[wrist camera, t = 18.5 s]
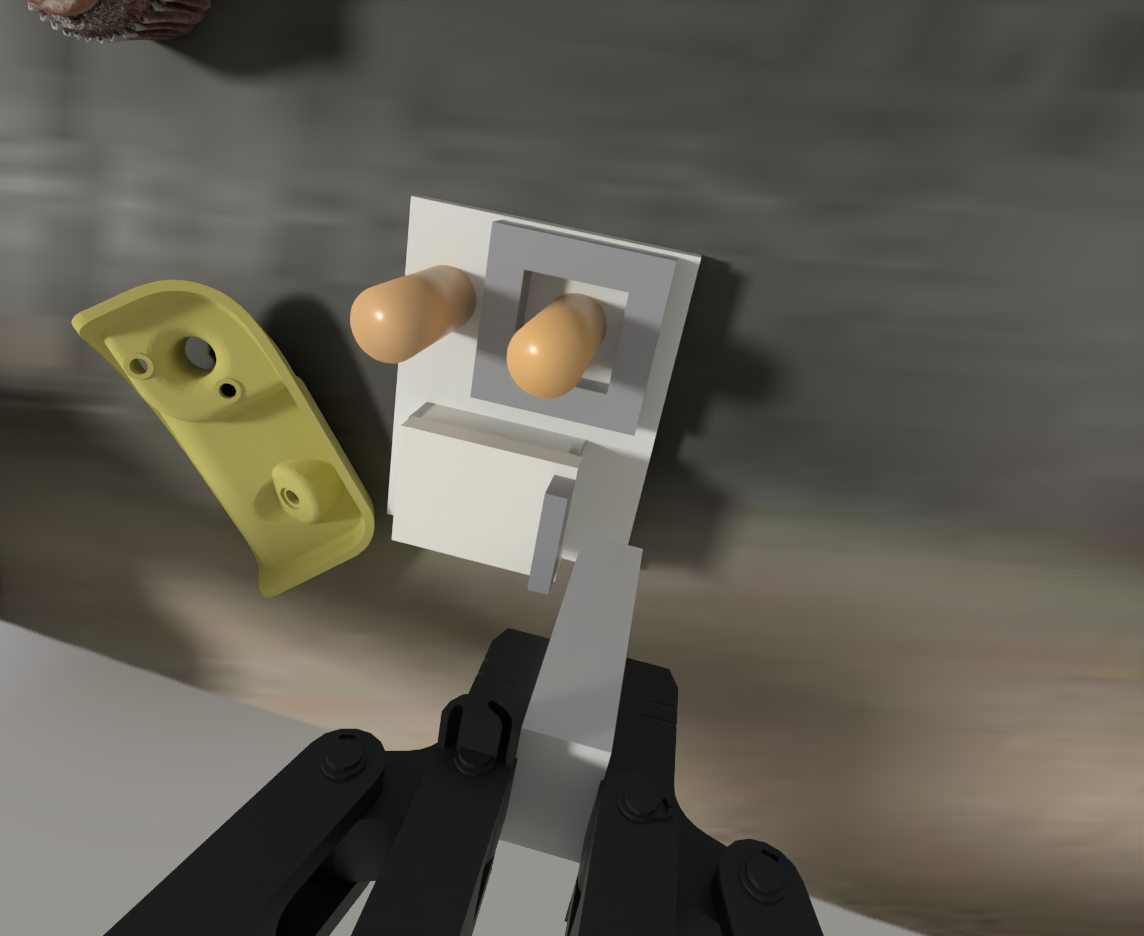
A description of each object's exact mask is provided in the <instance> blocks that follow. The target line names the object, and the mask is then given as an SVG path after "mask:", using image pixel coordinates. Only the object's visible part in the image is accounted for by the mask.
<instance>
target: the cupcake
mask: <svg viewBox="0 0 1144 936" xmlns="http://www.w3.org/2000/svg"><path fill="white" fill-rule="evenodd" d="M25 1H26V2H28V8H29V9H30V10H31V11H34V10H39V14H40V17H41V20H42V21H50V22H51V25H52V27H53V29H54V30H63V33H64V35H66V36H68V37H76V38H77V39H78V40H86V41H87V42H92V41H100V42H101V43H102V44H104V43H111V42H118V41H127V40H172V39H176V38H177V37H179V36H182V35H185V34H189V33H190V32H191V31H192V29H193V28H194V26H195V25H196V24H198V23H199V22H201V21H203V18H204V14H205V11H206V10H207V9H208V8H210V7H211V0H25Z"/></svg>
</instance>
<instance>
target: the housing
mask: <svg viewBox="0 0 1144 936" xmlns="http://www.w3.org/2000/svg"><path fill="white" fill-rule="evenodd" d="M700 261H701V255H700V254H695V253H691V252H686V251H681V250H677V249H672V248H667V247H662V246H658V245H653V244H648V243H644V242H639V241H634V240H629V239H625V238H620V237H615V236H611V235H606V234H601V233H596V232H592V231H587V230H582V229H578V228H573V227H568V226H564V225H559V224H554V223H549V222H545V221H540V220H535V219H531V218H526V217H521V216H516V215H512V214H507V213H502V212H498V211H493V210H488V209H483V208H479V207H474V206H469V205H465V204H460V203H455V202H450V201H446V200H441V199H436V198H432V197H427V196H422V195H420V196H411V206H410V219H409V232H408V245H407V258H406V271H405V276H403V277H400V278H397V279H394V280H391V281H388V282H385V283H382V284H379V285H376V286H373V287H370V288H368V289H366V290H365V291H363V292H362V293H361V294H360V295H359V296H358V297H357V298H356V300H355V302H354V303H353V306H352V309H351V315H350V323H351V329H352V332H353V335H354V337H355V339H356V341H357V343H358V344H359V346H360V347H361V348H362V349H363V350H364V351H365V352H366V353H367V354H368V355H369V356H371V357H372V358H374V359H376V360H378V361H381V362H384V363H398V375H397V389H396V402H395V415H394V428H393V441H392V454H391V467H390V480H389V493H388V506H387V514H390V515H394V504H395V492H396V479H397V467H398V455H399V442H400V430H401V425H402V424H403V423H404V422H405V421H407V420H408V419H409V418H410V417H412V416H414V417H419V418H423V419H427V420H431V421H435V422H439V423H444V424H448V425H452V426H456V427H460V428H464V429H468V430H473V431H477V432H481V433H485V434H489V435H493V436H497V437H502V438H506V439H510V440H514V441H518V442H522V443H527V444H531V445H535V446H539V447H543V448H547V449H551V450H556V451H560V452H564V453H568V454H572V455H576V456H580V457H583V458H582V463H581V468H580V473H579V478H578V482H577V487H576V492H575V497H574V501H573V506H572V511H571V516H570V521H569V525H568V530H567V535H566V540H565V545H564V549H563V554H562V558H563V559H567V560H571V561H575V562H576V559H577V555H578V552H579V549H580V546H581V543H582V540H583V537H584V534H586V535H590V536H594V537H598V538H602V539H606V540H610V541H614V542H618V543H622V544H625V545H628V543H629V539H630V535H631V531H632V527H633V523H634V519H635V515H636V512H637V508H638V504H639V500H640V496H641V492H642V488H643V484H644V480H645V476H646V472H647V468H648V465H649V461H650V457H651V453H652V449H653V445H654V441H655V437H656V433H657V429H658V425H659V421H660V417H661V414H662V410H663V406H664V402H665V398H666V394H667V390H668V386H669V382H670V378H671V374H672V370H673V367H674V363H675V359H676V355H677V351H678V347H679V343H680V339H681V335H682V331H683V327H684V323H685V320H686V316H687V312H688V308H689V304H690V300H691V296H692V292H693V288H694V284H695V280H696V276H697V272H698V269H699V265H700ZM568 293H580V294H584V295H586V296H589V297H590V298H592V299H593V300H595V301H596V302H597V303H598V304H599V306H600V307H601V309H602V310H603V312H604V315H605V318H606V325H607V328H606V334H605V337H604V340H603V342H602V343H601V345H600V347H599V348H598V350H597V352H596V354H595V355H594V357H593V359H592V360H591V362H590V364H589V365H588V367H587V369H586V370H585V372H584V374H583V375H582V377H581V379H580V380H579V382H578V384H577V385H576V386H575V387H574V388H573V389H572V390H571V391H570V392H568V393H567V394H565V395H563V396H560V397H557V398H551V399H544V398H538V397H535V396H532V395H530V394H528V393H526V392H525V391H524V390H522V389H521V388H520V387H519V386H518V385H517V384H516V383H515V381H514V380H513V378H512V376H511V374H510V372H509V369H508V365H507V350H508V346H509V343H510V341H511V339H512V337H513V336H514V334H515V333H516V332H517V331H518V330H519V329H521V328H522V327H523V326H524V325H525V324H526V323H528V322H529V321H530V320H531V319H532V318H534V317H535V316H536V315H537V314H538V313H540V312H541V311H542V310H543V309H544V308H545V307H547V306H548V305H549V304H550V303H551V302H553V301H554V300H555V299H556V298H558V297H559V296H562V295H564V294H568Z"/></svg>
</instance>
